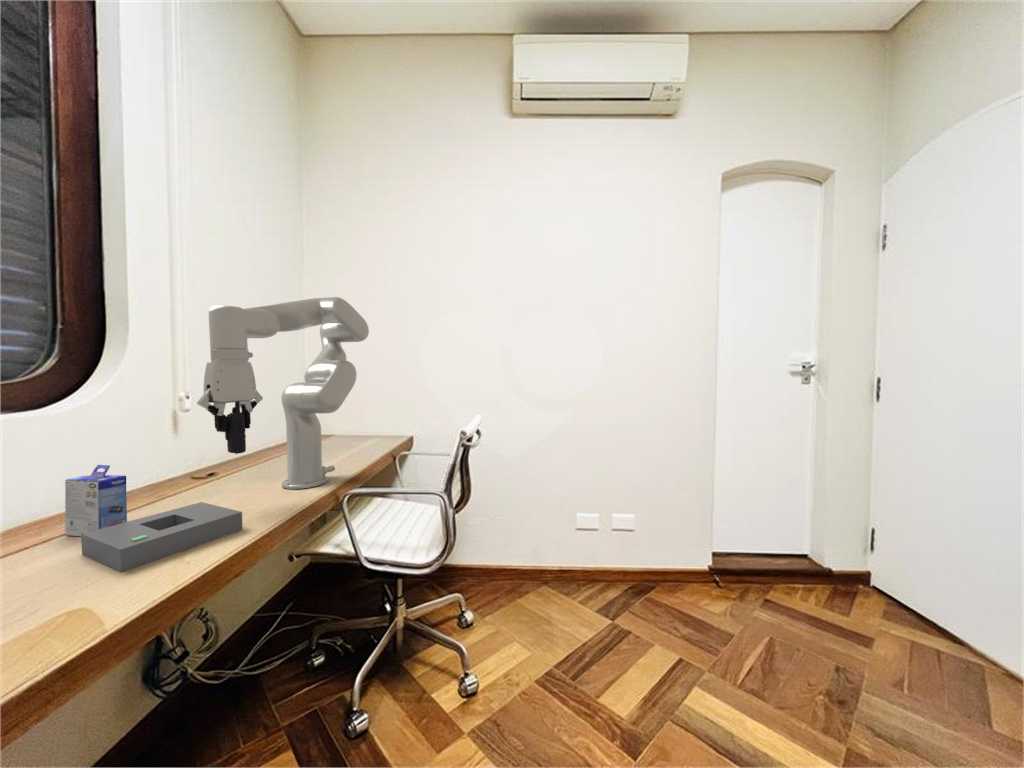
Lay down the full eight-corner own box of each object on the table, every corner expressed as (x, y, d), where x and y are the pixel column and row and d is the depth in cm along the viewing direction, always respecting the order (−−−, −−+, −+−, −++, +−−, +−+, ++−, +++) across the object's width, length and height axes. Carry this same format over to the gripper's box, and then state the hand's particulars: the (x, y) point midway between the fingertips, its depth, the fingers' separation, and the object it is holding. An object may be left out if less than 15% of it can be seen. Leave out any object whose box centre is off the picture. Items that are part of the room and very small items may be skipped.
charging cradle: (202, 518, 92) (201, 500, 92) (242, 529, 85) (242, 510, 85) (81, 554, 74) (81, 532, 74) (121, 572, 67) (120, 547, 67)
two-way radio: (248, 452, 97) (245, 392, 96) (226, 456, 94) (224, 394, 93) (241, 449, 100) (238, 392, 100) (220, 453, 97) (217, 393, 96)
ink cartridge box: (130, 529, 87) (127, 464, 86) (99, 539, 81) (96, 470, 81) (96, 525, 89) (93, 463, 88) (64, 536, 83) (61, 469, 83)
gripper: (255, 357, 105) (258, 424, 106) (180, 356, 90) (185, 434, 91) (273, 356, 102) (276, 425, 103) (198, 355, 87) (203, 436, 88)
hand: (233, 429), depth 97 cm, fingers closed on two-way radio, 4 cm apart
